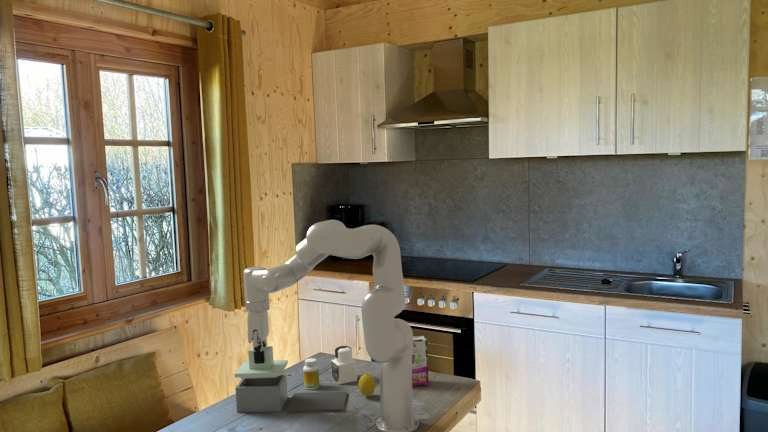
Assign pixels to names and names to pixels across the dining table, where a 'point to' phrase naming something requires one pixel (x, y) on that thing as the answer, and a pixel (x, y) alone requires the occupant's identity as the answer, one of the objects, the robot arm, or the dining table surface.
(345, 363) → the medicine bottle
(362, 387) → the lemon
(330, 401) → the mat
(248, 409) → the storage box
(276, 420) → the dining table surface
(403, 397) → the robot arm
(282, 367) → the lid
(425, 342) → the candy bar box
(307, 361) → the supplement bottle
